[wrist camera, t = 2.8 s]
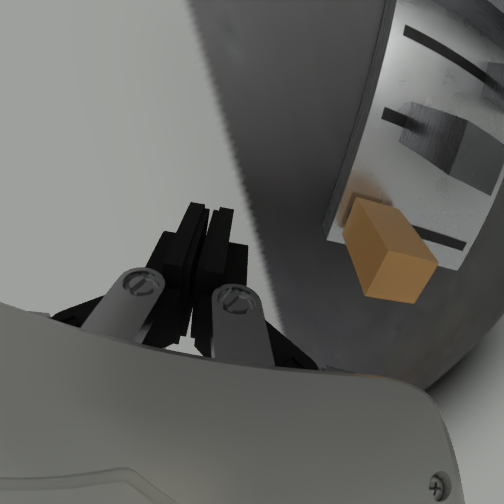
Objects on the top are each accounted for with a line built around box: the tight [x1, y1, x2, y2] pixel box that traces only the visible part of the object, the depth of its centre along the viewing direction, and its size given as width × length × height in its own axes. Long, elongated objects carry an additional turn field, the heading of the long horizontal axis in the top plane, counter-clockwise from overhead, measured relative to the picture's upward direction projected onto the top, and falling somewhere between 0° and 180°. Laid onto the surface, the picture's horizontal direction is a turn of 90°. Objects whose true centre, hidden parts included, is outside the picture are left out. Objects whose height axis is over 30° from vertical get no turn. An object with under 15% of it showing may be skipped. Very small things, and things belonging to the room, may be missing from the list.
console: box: [322, 0, 504, 271], centre depth 11 cm, size 11×18×7 cm, turn 169°
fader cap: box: [342, 197, 439, 304], centre depth 14 cm, size 3×2×5 cm
